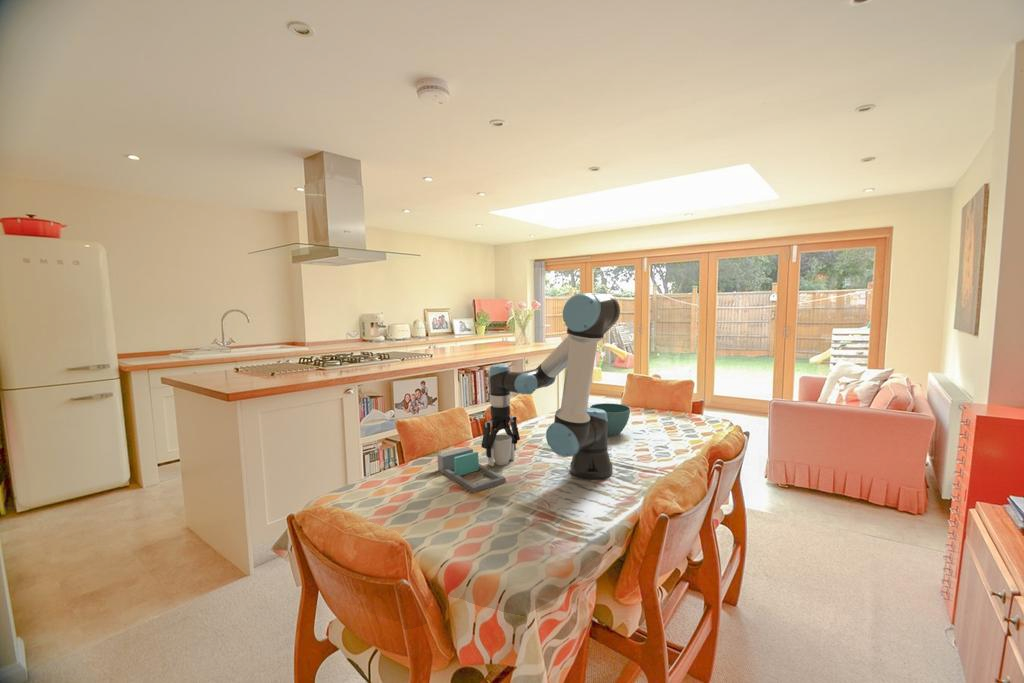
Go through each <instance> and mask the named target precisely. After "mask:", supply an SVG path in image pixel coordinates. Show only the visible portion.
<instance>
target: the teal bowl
mask: <svg viewBox="0 0 1024 683" xmlns="http://www.w3.org/2000/svg"><path fill="white" fill-rule="evenodd" d="M589 408H597V409H602V410H604V411H605V412H606V413H607V420H608V422H607V437H614V436H615V437H616V436H619V435H620V434H621V432H623V430H624V429H625V427H626V425H627V424H628V422H629V418H630V413H631V408H630V406H628V405H624V404H620V403H610V402H609V403H608V402H607V403H596V404H595V403H594V404H592V405H589Z"/></svg>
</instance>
